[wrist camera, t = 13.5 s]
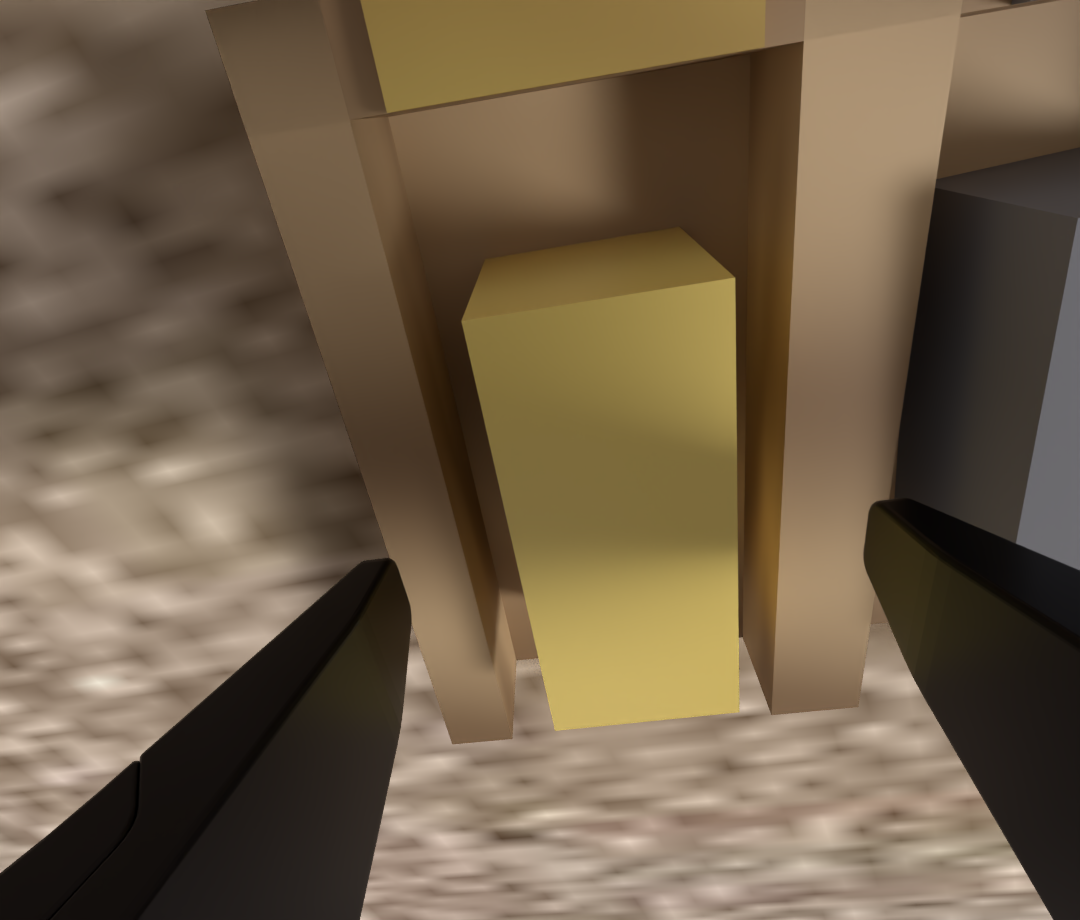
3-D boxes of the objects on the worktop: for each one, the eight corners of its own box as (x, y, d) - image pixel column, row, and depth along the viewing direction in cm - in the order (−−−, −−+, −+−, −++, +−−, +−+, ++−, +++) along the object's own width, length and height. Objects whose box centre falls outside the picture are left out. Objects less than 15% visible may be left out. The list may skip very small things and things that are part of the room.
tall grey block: (1051, 529, 12) (1200, 655, 9) (890, 555, 13) (988, 684, 10) (1137, 134, 9) (1409, 147, 6) (916, 183, 9) (1079, 217, 6)
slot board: (1086, 567, 14) (1227, 687, 11) (468, 632, 15) (450, 757, 12) (1344, -158, 8) (1785, -302, 5) (301, 37, 9) (191, 6, 6)
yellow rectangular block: (697, 580, 13) (739, 711, 10) (552, 597, 13) (555, 730, 10) (679, 226, 10) (734, 277, 7) (485, 259, 10) (461, 321, 7)
